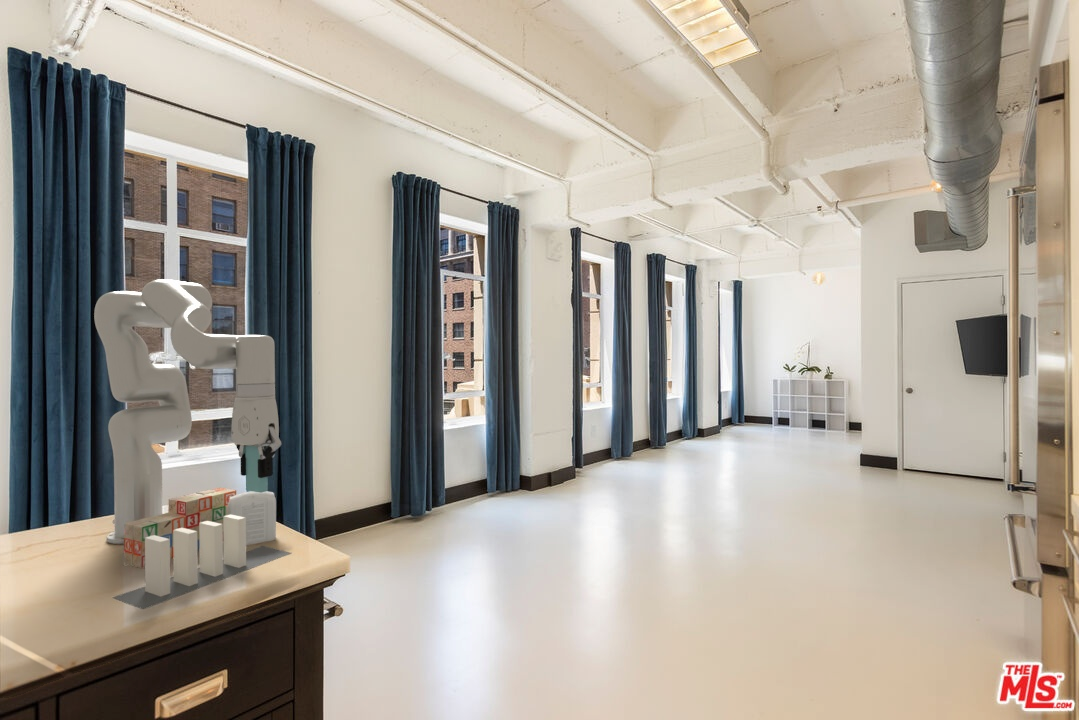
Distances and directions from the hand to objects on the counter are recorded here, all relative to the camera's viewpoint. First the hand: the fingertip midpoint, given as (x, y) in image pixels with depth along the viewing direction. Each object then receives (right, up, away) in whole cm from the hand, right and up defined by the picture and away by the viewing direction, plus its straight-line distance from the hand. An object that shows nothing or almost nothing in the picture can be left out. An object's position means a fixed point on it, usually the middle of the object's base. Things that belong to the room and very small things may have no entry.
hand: (256, 474), depth 119 cm
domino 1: (-9, -18, -18) cm, 27 cm away
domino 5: (0, -4, 0) cm, 4 cm away
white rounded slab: (-6, -19, +10) cm, 22 cm away
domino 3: (-5, -18, -9) cm, 21 cm away
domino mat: (-5, -19, -9) cm, 21 cm away
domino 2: (-7, -18, -13) cm, 23 cm away
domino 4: (-2, -18, -4) cm, 19 cm away
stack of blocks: (-19, -19, +5) cm, 27 cm away
